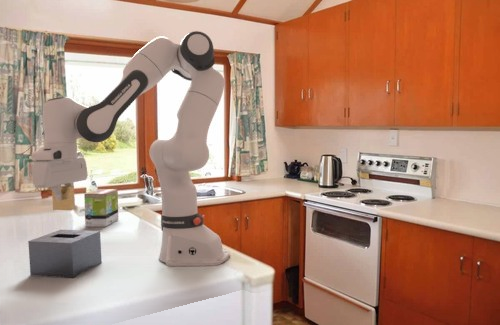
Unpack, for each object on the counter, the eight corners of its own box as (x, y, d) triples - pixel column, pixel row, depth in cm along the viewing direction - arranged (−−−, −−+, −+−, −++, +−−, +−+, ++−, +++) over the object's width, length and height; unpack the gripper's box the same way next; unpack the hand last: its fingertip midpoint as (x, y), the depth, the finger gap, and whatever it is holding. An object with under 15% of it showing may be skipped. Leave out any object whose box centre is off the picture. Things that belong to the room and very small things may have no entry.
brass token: (75, 209, 124) (73, 185, 123) (70, 210, 122) (69, 186, 121) (57, 208, 125) (56, 185, 125) (53, 210, 123) (51, 186, 123)
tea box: (107, 226, 180) (106, 193, 179) (84, 227, 180) (82, 193, 179) (119, 219, 195) (117, 188, 194) (98, 219, 195) (96, 188, 194)
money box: (101, 262, 130) (100, 231, 129) (73, 278, 117) (71, 243, 116) (62, 260, 133) (60, 229, 132) (30, 275, 120) (28, 241, 119)
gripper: (73, 150, 133) (76, 193, 134) (26, 154, 113) (29, 204, 114) (91, 150, 132) (93, 193, 133) (46, 154, 112) (49, 205, 113)
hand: (63, 199), depth 123 cm, fingers closed on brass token, 2 cm apart
